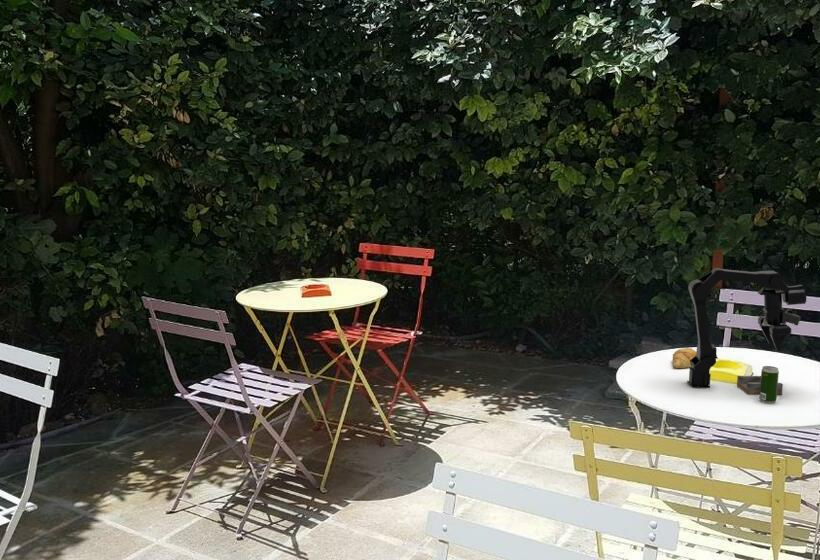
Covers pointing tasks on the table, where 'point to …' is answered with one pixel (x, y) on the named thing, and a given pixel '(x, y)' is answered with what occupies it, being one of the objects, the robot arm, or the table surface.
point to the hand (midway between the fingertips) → (774, 347)
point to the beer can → (769, 384)
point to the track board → (753, 385)
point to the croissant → (683, 357)
